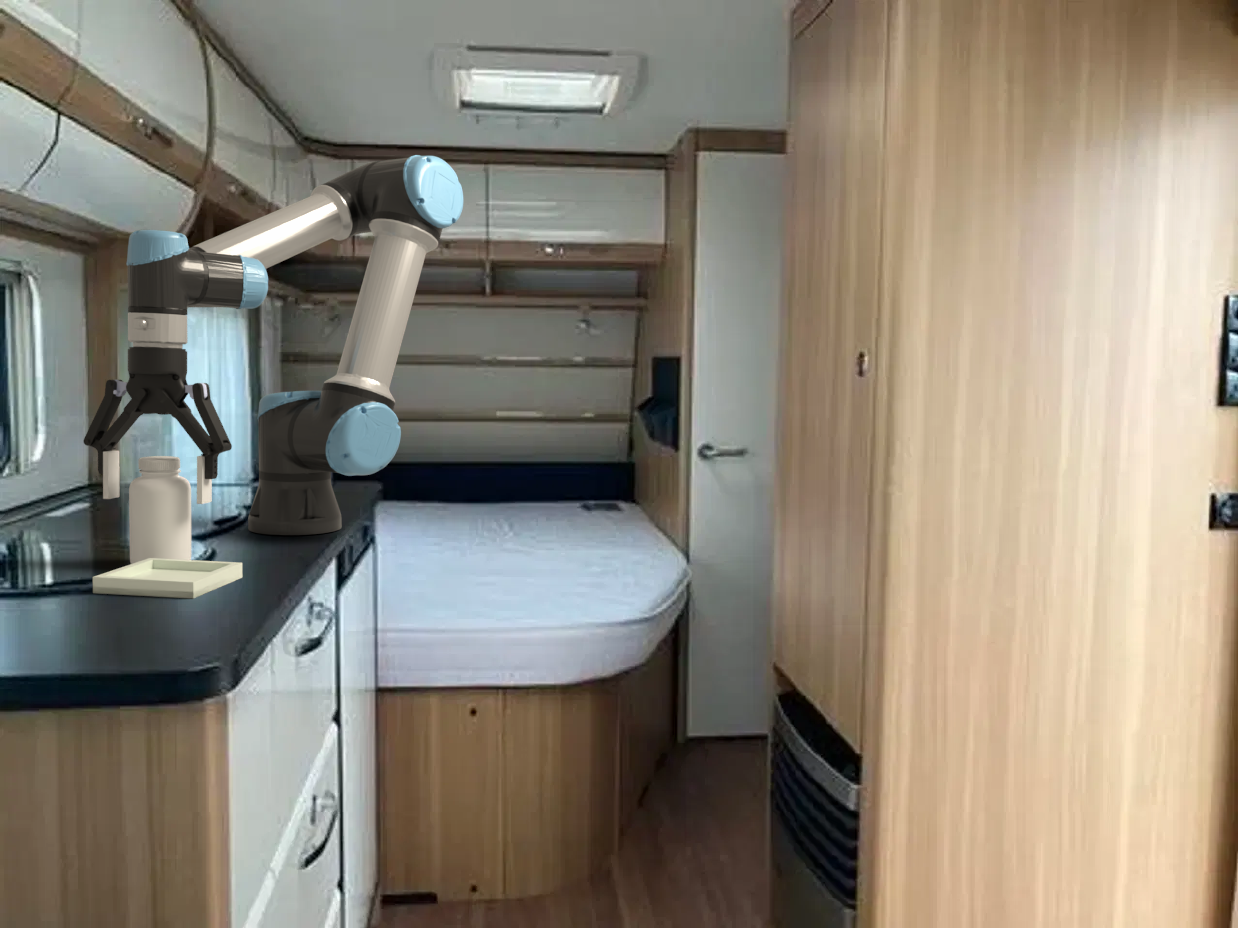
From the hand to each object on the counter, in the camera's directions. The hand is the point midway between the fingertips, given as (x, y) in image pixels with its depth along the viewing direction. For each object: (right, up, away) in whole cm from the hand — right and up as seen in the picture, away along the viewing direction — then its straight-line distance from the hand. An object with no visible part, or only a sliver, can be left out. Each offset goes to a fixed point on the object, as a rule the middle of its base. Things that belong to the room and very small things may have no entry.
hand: (157, 500), depth 153 cm
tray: (+7, -10, -12) cm, 17 cm away
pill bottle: (0, -9, +1) cm, 9 cm away
